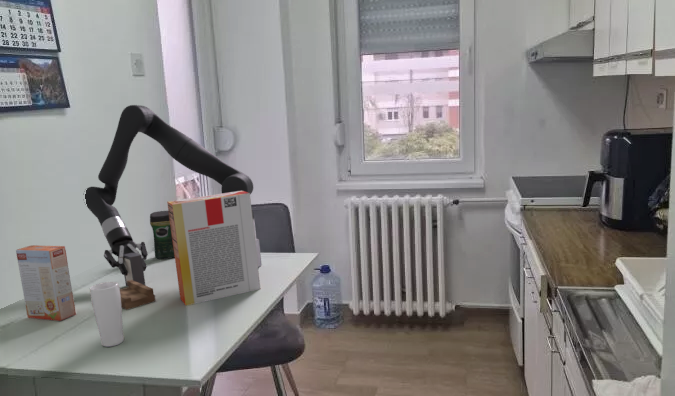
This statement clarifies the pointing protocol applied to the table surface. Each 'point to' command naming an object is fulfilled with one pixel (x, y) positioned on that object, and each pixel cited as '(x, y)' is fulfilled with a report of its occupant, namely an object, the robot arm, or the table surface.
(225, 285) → the pasta box
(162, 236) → the coffee jar
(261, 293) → the table surface
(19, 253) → the cracker box
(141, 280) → the dark grey block
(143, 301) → the wooden channel tray
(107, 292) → the drinking glass
